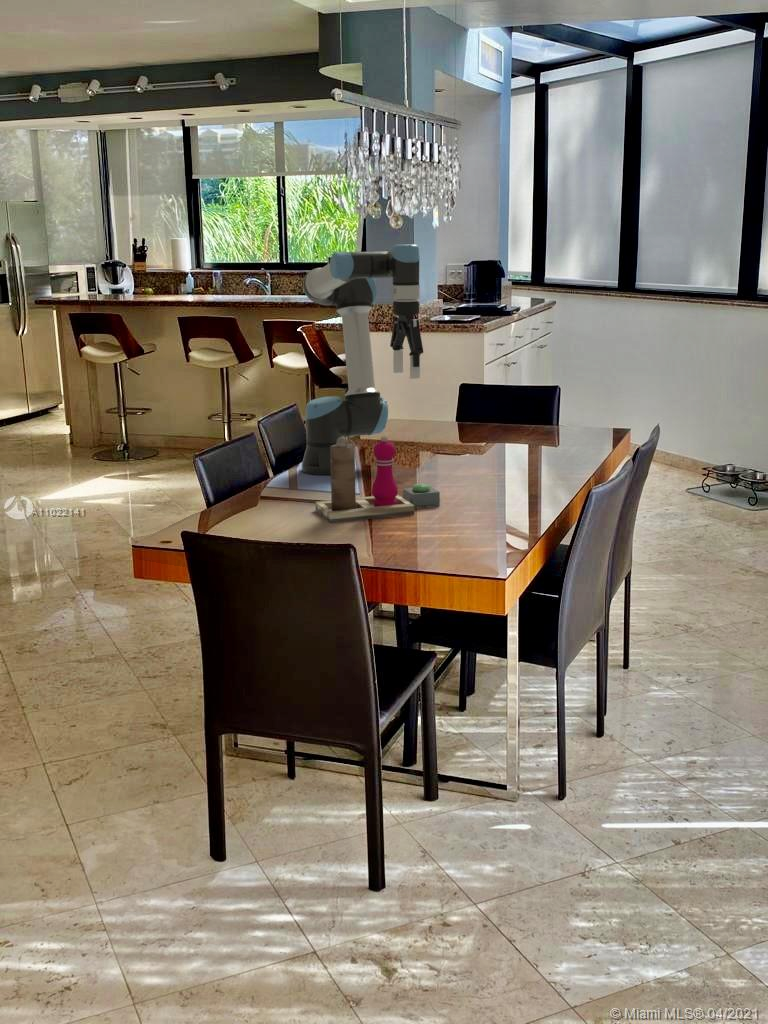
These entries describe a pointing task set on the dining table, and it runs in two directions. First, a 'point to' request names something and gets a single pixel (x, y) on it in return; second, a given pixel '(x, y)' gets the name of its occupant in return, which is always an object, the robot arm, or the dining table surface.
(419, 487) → the button
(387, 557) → the dining table surface
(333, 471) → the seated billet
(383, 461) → the pepper mill
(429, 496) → the button box
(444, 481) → the dining table surface
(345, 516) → the divided tray
